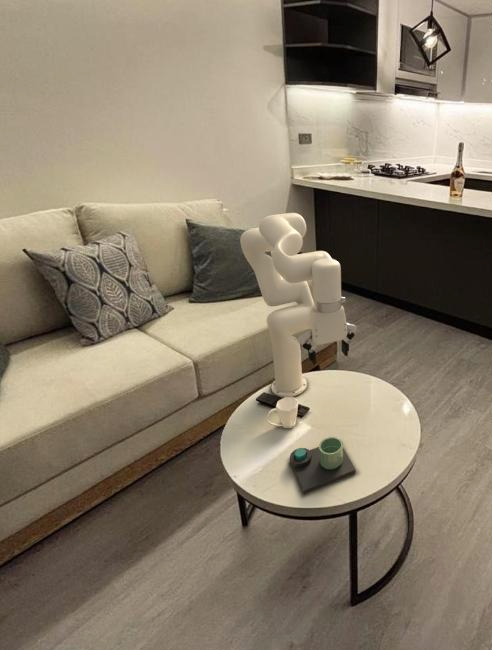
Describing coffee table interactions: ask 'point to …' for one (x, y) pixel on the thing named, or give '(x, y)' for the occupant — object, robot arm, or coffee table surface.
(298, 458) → the tare button
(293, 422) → the cup
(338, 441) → the green handleless cup
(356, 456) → the coffee table surface
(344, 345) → the robot arm
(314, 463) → the scale
